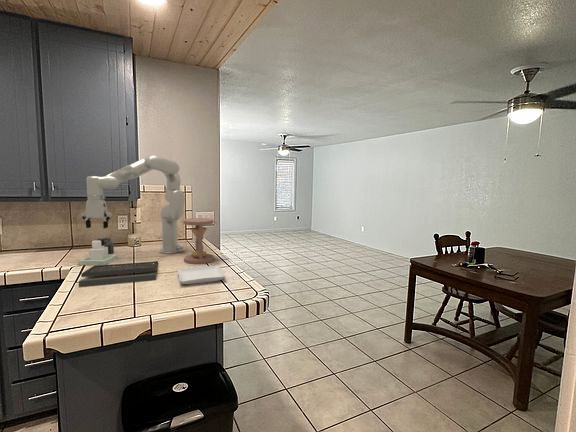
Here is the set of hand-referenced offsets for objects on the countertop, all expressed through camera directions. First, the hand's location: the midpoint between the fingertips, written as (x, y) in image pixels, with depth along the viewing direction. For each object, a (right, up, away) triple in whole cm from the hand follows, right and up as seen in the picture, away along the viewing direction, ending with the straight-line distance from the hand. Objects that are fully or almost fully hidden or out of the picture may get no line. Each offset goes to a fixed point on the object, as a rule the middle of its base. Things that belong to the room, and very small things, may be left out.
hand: (97, 227), depth 172 cm
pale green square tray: (-1, -20, +2) cm, 20 cm away
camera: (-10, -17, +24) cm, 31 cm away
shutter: (+25, -24, -17) cm, 38 cm away
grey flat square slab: (+66, -25, -22) cm, 74 cm away
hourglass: (+55, -20, +11) cm, 60 cm away
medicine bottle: (0, -19, +2) cm, 19 cm away
